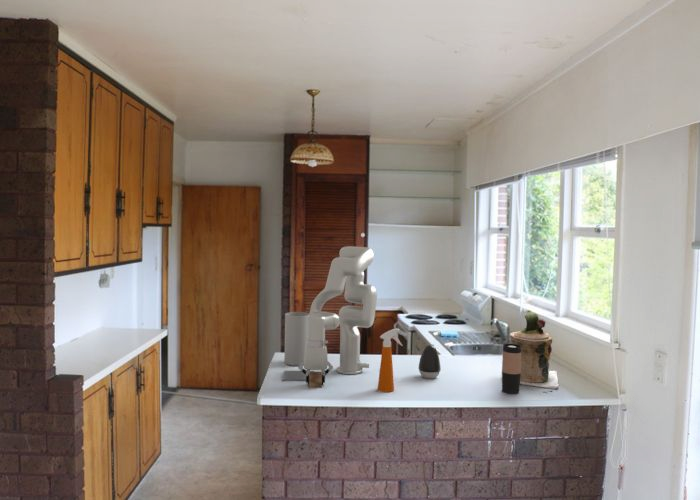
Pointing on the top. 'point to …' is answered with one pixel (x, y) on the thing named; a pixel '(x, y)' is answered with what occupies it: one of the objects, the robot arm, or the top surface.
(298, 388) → the top surface
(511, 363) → the travel mug
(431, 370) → the black egg ornament
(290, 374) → the slate coaster
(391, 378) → the spray bottle
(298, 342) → the cylinder vase
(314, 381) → the walnut block
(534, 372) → the cookie jar
